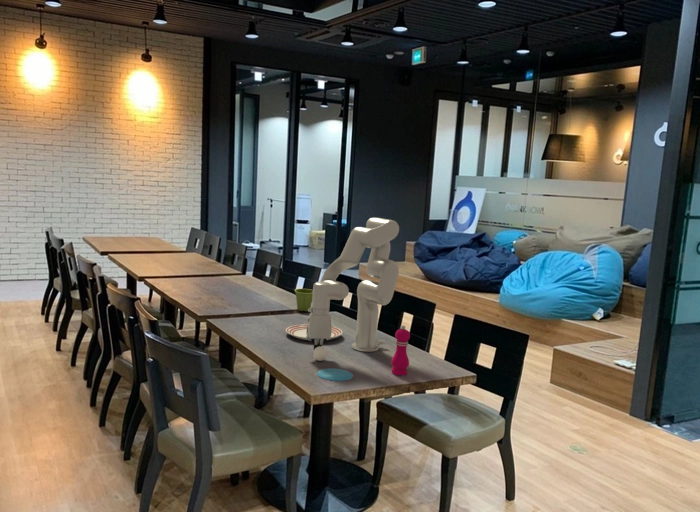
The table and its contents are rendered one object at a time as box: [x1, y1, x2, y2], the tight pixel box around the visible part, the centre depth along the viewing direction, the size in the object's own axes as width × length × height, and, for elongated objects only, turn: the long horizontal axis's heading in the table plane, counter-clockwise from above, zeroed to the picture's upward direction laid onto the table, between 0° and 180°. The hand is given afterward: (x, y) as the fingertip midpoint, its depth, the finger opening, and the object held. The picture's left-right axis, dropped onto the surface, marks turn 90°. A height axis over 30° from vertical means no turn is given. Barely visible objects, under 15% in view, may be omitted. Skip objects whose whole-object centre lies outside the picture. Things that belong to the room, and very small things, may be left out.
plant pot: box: [294, 288, 313, 312], centre depth 344 cm, size 12×12×11 cm
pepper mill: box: [390, 325, 411, 376], centre depth 244 cm, size 7×7×20 cm
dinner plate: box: [285, 323, 343, 342], centre depth 292 cm, size 27×27×3 cm
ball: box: [312, 345, 328, 362], centre depth 254 cm, size 6×6×6 cm
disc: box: [316, 367, 354, 382], centre depth 238 cm, size 14×14×1 cm
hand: (317, 353), depth 259 cm, fingers closed
